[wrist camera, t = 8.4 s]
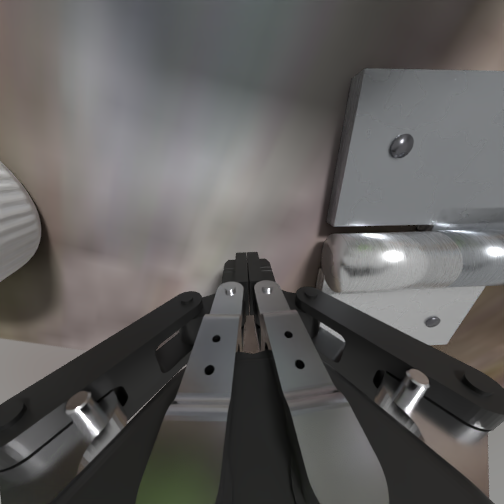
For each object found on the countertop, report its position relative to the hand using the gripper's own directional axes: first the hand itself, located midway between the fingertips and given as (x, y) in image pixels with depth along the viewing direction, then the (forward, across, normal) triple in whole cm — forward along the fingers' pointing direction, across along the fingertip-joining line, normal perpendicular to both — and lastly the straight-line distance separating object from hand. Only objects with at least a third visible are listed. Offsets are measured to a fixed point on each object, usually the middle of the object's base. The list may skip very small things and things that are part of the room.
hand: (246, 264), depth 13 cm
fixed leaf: (+1, -13, -4) cm, 14 cm away
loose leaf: (+1, -13, +4) cm, 14 cm away
